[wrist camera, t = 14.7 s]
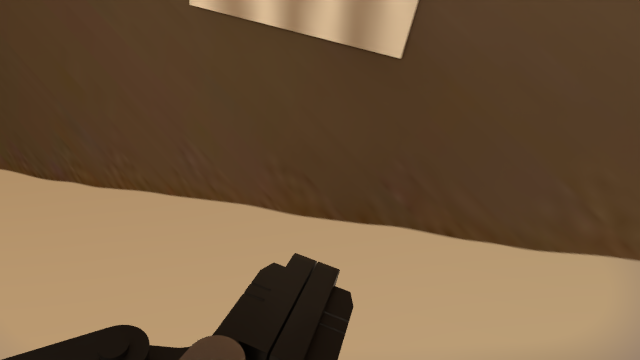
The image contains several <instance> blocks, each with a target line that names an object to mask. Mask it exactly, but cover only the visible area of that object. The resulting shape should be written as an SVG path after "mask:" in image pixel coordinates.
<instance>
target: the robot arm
mask: <svg viewBox="0 0 640 360" xmlns="http://www.w3.org/2000/svg"><path fill="white" fill-rule="evenodd" d="M339 271H340V270H339V269H336V268H334V267H331V266H329V265H326V264H323V263H320V262H318V263H317V261H315V260H312V259H309V258H307V257H304V256H302V255H299V254H296V253H295V254H294V255H293V256H292V258H291V260H290V261H289V263H288V264H287V266H286V267H284V266H281V265H279V264H276V263H272V264H270V265H269V266H267V267H265V268H263V269H262V270H260V272H259V273H258V274H257V276H256V277H255V279H254V280H253V281H252V283H251V284H250V285H249V286H248V288H247V289H246V291H245V293H244V294H243V295H242V296H241V297H240V299H239V300H238V302H237V303H236V304H235V306H234V307H233V308H232V310H231V311H230V313H229V314H228V315H227V316H226V318H225V319H224V320H223V322H222V323H221V325H220V326H219V327H218V329H217V330H216V331H215V332H214V334H213V335H212V336H208V337H205V338H202V339H200V340H198V341H197V342H195V343H194V344H193V345H192V346H190V347H185V348H173V347H172V348H171V347H162V346H152V345H149V339H148V337H147V335H146V333H145V332H144V331H142V330H141V329H139V328H138V327H134V326H130V325H118V326H112V327H109V328H105V329H102V330H99V331H95V332H92V333H89V334H85V335H82V336H79V337H76V338H72V339H69V340H66V341H63V342H59V343H55V344H52V345H49V346H46V347H42V348H39V349H36V350H32V351H29V352H26V353H22V354H19V355H16V356H13V357H9V358H6V359H2V360H338V356H339V353H340V350H341V346H342V343H343V339H344V336H345V333H346V329H347V326H348V323H349V319H350V316H351V313H352V309H353V303H352V298H351V293H350V292H348V291H346V290H343V289H341V288H338V287H336V286H335V285H336V281H337V278H338V275H339Z"/></svg>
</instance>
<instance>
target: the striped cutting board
mask: <svg viewBox="0 0 640 360" xmlns="http://www.w3.org/2000/svg"><path fill="white" fill-rule="evenodd" d="M418 3H419V0H190V5H193V6H197V7H201V8H205V9H209V10H212V11H216V12H220V13H224V14H228V15H232V16H236V17H240V18H244V19H248V20H252V21H255V22H259V23H263V24H267V25H271V26H275V27H279V28H283V29H287V30H291V31H294V32H298V33H302V34H306V35H310V36H314V37H318V38H322V39H326V40H330V41H334V42H337V43H341V44H345V45H349V46H353V47H357V48H361V49H365V50H369V51H373V52H377V53H380V54H384V55H388V56H392V57H396V58H400V59H401V58H402V56H403V53H404V49H405V46H406V43H407V39H408V36H409V33H410V29H411V26H412V23H413V19H414V16H415V13H416V10H417V6H418Z"/></svg>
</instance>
